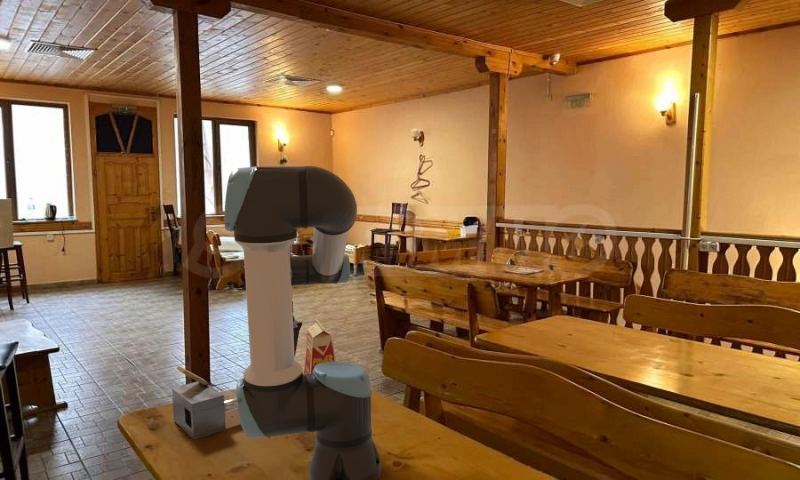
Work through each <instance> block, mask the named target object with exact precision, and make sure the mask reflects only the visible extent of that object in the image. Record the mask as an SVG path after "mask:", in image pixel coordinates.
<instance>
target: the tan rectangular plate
mask: <svg viewBox="0 0 800 480" xmlns="http://www.w3.org/2000/svg"><path fill="white" fill-rule="evenodd" d="M176 370H177V371H178V372H180V373H182V374H183V375H185V376H187V377H189V378H190V379H193V380H194V381H195V382H200V383H202V384H204V385H205V386H208V385H210V383H209V382H208V381H207V380H206V379H204V378H202V377H200V376H199V375H196V374H195V373H193V372H192V371H189V370H187V369H185V368H183V367H182V366H180V365H178V366H177V368H176Z"/></svg>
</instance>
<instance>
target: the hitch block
mask: <svg viewBox="0 0 800 480" xmlns="http://www.w3.org/2000/svg"><path fill="white" fill-rule="evenodd" d="M171 397H172V406H173V408H172V409H173V410H172V411H173V421H175V422H176V425H177V426H179V428H181V429H182V430H183V431H184V432H185V433H186V434H187V435H188V436H189V437H191V438H192V440H194V441H195V440H198V439H200V438H204V437H207V436H209V435H213V434H216V433H220V432H222V431H225V430H227V427H226V425H227V423H226V421H227V420H226V413H225V404H224V401H225V395H224V394H223V393H222V392H221V391H219V390H217V389H215V388H214V387H213V386H211V385H210V384H209V385H208V386H205V385H204V384H202V383H200V382H198V381H195V382H191V383H187V384H183V385H179V386H175V387H172V388H171ZM175 422H174V423H175Z"/></svg>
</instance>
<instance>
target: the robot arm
mask: <svg viewBox="0 0 800 480" xmlns="http://www.w3.org/2000/svg"><path fill="white" fill-rule="evenodd" d="M224 200H225V201H224V213H223V215H224V217H223V218H224V229H225V230H226V231H228V232H233V235H234V237H233V239H234V242H236V244H238V246H240V247H241V248H242V250H243V262H244V276H245V293H246V308H247V309H246V310H247V311H246V312H247V327H248V342H249V344H248V345H249V360H250V364H251V365H250V364H249V365H250V366H247V367H246V368H245V370H244V371H243V376H242V377H243V378H241V379H239V380H238V381H237V383H236V389H235V391H236V392H235V393H236V394H235V395H236V398H237V403H238V404H237V407H238V409H237V412H238V418H239V422H240V425H241V428H242V431H243V432H244V434H245V435H246V436H248V438H253V439H254V438H265V439H268V438H271V437H279V436H286V435H287V436H288V435H297V434H305V433H315V432H316V433H315V435H316V436H315V437H316V440H315V444H314V448H313V452H312V456H311V460H310V462H309V464H308V475H309V478H308V479H309V480H379V479H380V478H381V475H382V462H381V461H382V460H381V457H380V455H379V452H378V449H377V447H376V445H375V444H376V443H375V441H374V438H373V425H372V401H371V400H372V397H371V396H372V395H373V393H372V392H373V391H372V389H371V379H370V378H371V377H370V375H369V373H368V371H367V370H366V369H365V368H363V367H361V366H359V365H357V364H354V363H351V362H343V361H336V362H324V363H320V364H318V365H316V366H315V367H314V370H313V373H310V374H303V373H304V367H303V365H302V364H301V363H300V362H299V361H297V360H295V359H296V358H295V357H296V353H297V348H298V347H297V346H298V342H299V336H300V330H301V328H302V327H303V322H302V321H299V320H296V318H295V316H294V302H293V298H294V294H293V287H294V286H295V287H296V286H297V287H298V286H307V285H308V286H309V285H331V284H333V285H337V284H341V283H347V282H349V281H350V278H351V276H350V275H351V263H350V256H349V255H348V254H346V248H347V243H348V242H347V241H348V236H349V232H350V230H351V229H352V228H353V226H354V225H355V222H356V221H357V220H356V219H357V214H358V205H357V201H356V198H355V195H354V193H353V191H352V190H351V188H350V187H349V185H348V184H347V182H345V181H344V180H343V179H341V177H340V176H338V175H336V174H335V173H333V172H332V171H330V170H328V169H326V168H323V167H320V166H315V165H304V166H303V165H302V166H296V165H295V166H258V165H255V166H248V167H238V168H235V169H233V170H231V172H230V174H229V176H228V180H227V184H226V192H225V199H224ZM301 228H302V229H304V228H305V229H308V228H313V235H312V237H313V239H312V254H309V255H307V254H306V255H292V251H291V245H292V244H293V243H294V242H295V241H296V240H297V239H298V229H301Z"/></svg>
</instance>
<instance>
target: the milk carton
mask: <svg viewBox="0 0 800 480" xmlns="http://www.w3.org/2000/svg"><path fill="white" fill-rule="evenodd" d="M314 319H315V323H313V324H312V325H311V326H310V327H308V328H307V329H306V348H305V357H304V367H303V374H310V373H313V370H314V367H315V366H316V365H318V364H320V363H324V362H337V361H336V353H335V348H334V343H333V338H332V335H331V333H330V332H329V331H328V329H326V328H325V327H324V326H323V325H322V323H321V322H320V321H319V319H318V318H314Z"/></svg>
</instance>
